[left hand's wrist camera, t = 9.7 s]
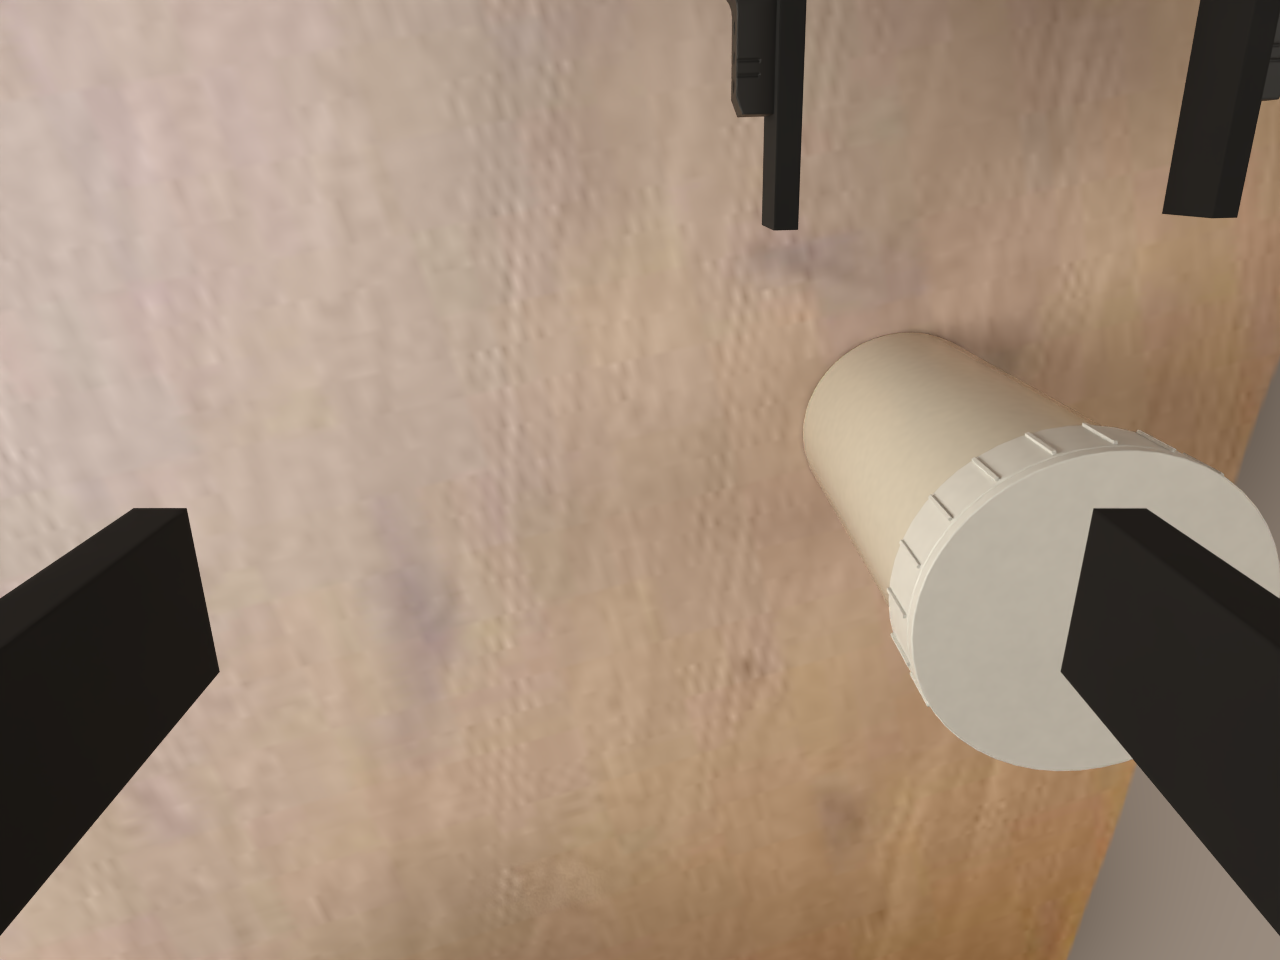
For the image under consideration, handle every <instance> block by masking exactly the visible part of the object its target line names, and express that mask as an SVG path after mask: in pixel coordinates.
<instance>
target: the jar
mask: <svg viewBox="0 0 1280 960" xmlns="http://www.w3.org/2000/svg"><path fill="white" fill-rule="evenodd" d="M1082 423H1088V424H1090V425H1097V426H1101V425H1099V424H1098V423H1096V422H1094V421H1092V420H1090V419H1089V418H1087V417H1085V416H1083V415H1082V414H1080V413H1078V412H1076V411H1074V410H1073V409H1071V408H1069V407H1067V406H1065V405H1064V404H1062V403H1060V402H1058V401H1056V400H1055V399H1053V398H1051V397H1049V396H1047V395H1046V394H1044V393H1042V392H1040V391H1038V390H1037V389H1035V388H1033V387H1031V386H1029V385H1028V384H1026V383H1024V382H1022V381H1020V380H1019V379H1017V378H1015V377H1013V376H1011V375H1010V374H1008V373H1006V372H1004V371H1003V370H1001V369H999V368H997V367H995V366H994V365H992V364H990V363H988V362H986V361H985V360H983V359H981V358H979V357H977V356H976V355H974V354H972V353H970V352H968V351H967V350H965V349H963V348H961V347H959V346H958V345H956V344H954V343H952V342H950V341H948V340H946V339H943V338H940V337H938V336H934V335H929V334H924V333H914V332H910V333H896V334H890V335H885V336H882V337H878V338H875V339H872V340H870V341H868V342H865V343H863V344H861V345H859V346H858V347H856V348H854V349H852V350H851V351H849V352H848V353H847V354H845V355H844V356H843V357H841V358H840V359H839V360H838V361H837V362H836V363H835V364H834V365H833V366H832V367H831V368H830V369H829V370H828V371H827V372H826V374H825V375H824V376H823V377H822V379H821V380H820V382H819V383H818V385H817V387H816V388H815V390H814V392H813V394H812V396H811V399H810V401H809V404H808V407H807V410H806V413H805V419H804V425H803V442H804V450H805V454H806V458H807V462H808V464H809V467H810V469H811V471H812V473H813V475H814V477H815V478H816V480H817V482H818V484H819V485H820V487H821V489H822V491H823V492H824V494H825V496H826V498H827V499H828V501H829V503H830V505H831V506H832V508H833V510H834V512H835V513H836V515H837V517H838V519H839V520H840V522H841V524H842V526H843V528H844V529H845V531H846V533H847V535H848V536H849V538H850V540H851V542H852V543H853V545H854V547H855V549H856V550H857V552H858V554H859V556H860V557H861V559H862V561H863V563H864V564H865V566H866V568H867V570H868V571H869V573H870V575H871V577H872V578H873V580H874V582H875V584H876V585H877V587H878V589H879V591H880V592H881V594H882V596H883V598H884V599H885V601H886V603H887V605H888V606H889V594H888V592H887V588H890V579H891V574H892V570H893V565H894V561H895V558H896V555H897V552H898V550H899V547H900V544H899V542H900V540H902V539H903V538H904V536H905V534H906V532H907V530H908V528H909V526H910V524H911V522H912V521H913V519H914V518H915V516H916V515H917V514H918V512H919V511H920V509H921V508H922V506H923V505H924V504H925V502H926V501H927V500H928V499H929V498H928V497H929V495H930V494H931V495H933V493H934V492H935V491H936V490H937V489H938V488H939V487H940V486H941V485H942V484H943V483H944V482H945V481H946V480H948V479H949V478H950V477H951V476H952V475H953V474H954V473H955V472H957V471H958V470H959V469H961V468H962V467H963V466H965V465H966V464H968V463H969V462H971V461H972V460H971V459H972V458H974V457H978V456H980V455H981V454H983V453H985V452H987V451H989V450H991V449H992V448H994V447H996V446H998V445H1000V444H1003V443H1005V442H1008V441H1010V440H1013V439H1015V438H1018V437H1020V436H1023V435H1025V433H1027V432H1030V433H1034V432H1038V431H1041V430H1045V429H1051V428H1058V427H1064V426H1079V425H1082Z"/></svg>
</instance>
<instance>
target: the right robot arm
mask: <svg viewBox="0 0 1280 960" xmlns="http://www.w3.org/2000/svg"><path fill="white" fill-rule="evenodd" d="M727 2H728V3H729V5H730V8H731V12H732V82H731V101H732V104H733V106H734V109H735V112H736V115H737V117H761V116H764V156H763V200H762V225H763V226H766V227H768V228H770V229H772V230H798V215H799V188H800V161H801V133H802V106H803V79H804V52H805V24H806V0H727ZM1279 97H1280V0H1200V5H1199V11H1198V17H1197V22H1196V28H1195V33H1194V39H1193V44H1192V50H1191V56H1190V61H1189V67H1188V72H1187V78H1186V83H1185V89H1184V95H1183V100H1182V106H1181V111H1180V117H1179V123H1178V128H1177V134H1176V139H1175V145H1174V150H1173V156H1172V162H1171V167H1170V173H1169V178H1168V184H1167V190H1166V195H1165V201H1164V206H1163V212H1162V214H1171V215H1182V216H1194V217H1205V218H1237V215H1238V211H1239V206H1240V201H1241V196H1242V191H1243V187H1244V182H1245V177H1246V172H1247V167H1248V163H1249V158H1250V153H1251V148H1252V144H1253V139H1254V134H1255V129H1256V124H1257V120H1258V115H1259V110H1260V105H1261V101H1267V100H1276V99H1279Z"/></svg>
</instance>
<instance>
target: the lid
mask: <svg viewBox="0 0 1280 960" xmlns="http://www.w3.org/2000/svg"><path fill="white" fill-rule="evenodd" d="M971 460H972V461H971V462H969V463H968V464H966V465H965V466H963V467H962V468H961V469H959V470H958V471H957V472H955V473H954V474H953V475H952V476H951V477H950V478H949V479H948V480H946V481H945V482H944V483H943V484H942V485H941V486H940V487H939V488H938V489H937V490H936V491H935V492H934V493H933V495H931V494H930V495H929V497H928V498H929V499H928V500H927V501H926V502H925V504H924V505H923V506H922V508H921V509H920V511H919V512H918V514H917V515H916V516H915V518H914V519H913V521H912V522H911V524H910V526H909V528H908V530H907V532H906V534H905V536H904V538H903V539H902V540H900V542H899V544H900V547H899V550H898V552H897V555H896V558H895V561H894V565H893V570H892V574H891V579H890V588H887V592H888V594H889V612H890V621H891V625H892V630H893V633H891V637H892V639H893V641H894V642H895V644H896V646H897V648H898V650H899V652H900V654H901V655H902V657H903V659H904V661H905V663H906V665H907V666H908V668H909V669H910V671H911V672H910V675H911V677H912V679H913V681H914V683H915V684H916V686H917V688H918V690H919V692H920V694H921V696H922V698H923V699H924V701H925V703H926V705H927V706H928V707H929V706H930V707H931V709H932V710H933V712H934V713H935V714H936V715H937V717H938V718H939V719H940V720H941V721H942V723H943V724H944V725H945V726H946V727H947V728H948V729H949V730H950V731H951V732H953V733H954V734H955V735H956V736H957V737H958V738H959V739H961V740H962V741H964V742H965V743H967V744H968V745H970V746H971V747H973V748H974V749H976V750H978V751H980V752H982V753H984V754H986V755H988V756H990V757H992V758H995V759H997V760H1000V761H1003V762H1007V763H1010V764H1013V765H1016V766H1021V767H1026V768H1032V769H1038V770H1051V771H1075V770H1086V769H1093V768H1101V767H1105V766H1110V765H1114V764H1118V763H1122V762H1126V761H1129V760H1132V757H1131V756H1130V755H1129V754H1128V752H1127V751H1126V750H1125V749H1124V748H1123V746H1122V745H1121V744H1120V743H1119V742H1118V740H1117V739H1116V738H1115V737H1114V736H1113V734H1112V733H1111V732H1110V731H1109V730H1108V728H1107V727H1106V726H1105V725H1104V724H1103V722H1102V721H1101V720H1100V719H1099V718H1098V716H1097V715H1096V714H1095V713H1094V712H1093V710H1092V709H1091V708H1090V707H1089V706H1088V704H1087V703H1086V702H1085V701H1084V700H1083V698H1082V697H1081V696H1080V695H1079V694H1078V692H1077V691H1076V690H1075V689H1074V688H1073V686H1072V685H1071V684H1070V683H1069V681H1068V680H1067V679H1066V678H1065V677H1064V675H1063V674H1062V673H1061V672H1060V671H1061V666H1062V662H1063V657H1064V652H1065V647H1066V642H1067V637H1068V632H1069V627H1070V622H1071V617H1072V612H1073V607H1074V602H1075V597H1076V592H1077V587H1078V582H1079V577H1080V572H1081V567H1082V562H1083V557H1084V552H1085V548H1086V543H1087V538H1088V533H1089V528H1090V523H1091V518H1092V513H1093V508H1147V509H1148V510H1150V511H1151V512H1153V513H1154V514H1156V515H1157V516H1159V517H1160V518H1161V519H1163V520H1164V521H1166V522H1167V523H1169V524H1170V525H1172V526H1173V527H1175V528H1176V529H1178V530H1179V531H1181V532H1182V533H1184V534H1185V535H1187V536H1188V537H1190V538H1191V539H1193V540H1194V541H1195V542H1197V543H1198V544H1200V545H1201V546H1203V547H1204V548H1206V549H1207V550H1209V551H1210V552H1212V553H1213V554H1215V555H1216V556H1218V557H1219V558H1221V559H1222V560H1224V561H1225V562H1227V563H1228V564H1229V565H1231V566H1232V567H1234V568H1235V569H1237V570H1238V571H1240V572H1241V573H1243V574H1244V575H1246V576H1247V577H1249V578H1250V579H1252V580H1253V581H1255V582H1256V583H1258V584H1259V585H1261V586H1262V587H1263V588H1265V589H1266V590H1268V591H1269V592H1271V593H1272V594H1274V595H1275V596H1277V597H1278V598H1279V597H1280V564H1279V559H1278V554H1277V550H1276V545H1275V542H1274V540H1273V537H1272V535H1271V532H1270V530H1269V527H1268V525H1267V523H1266V522H1265V520H1264V518H1263V517H1262V515H1261V513H1260V512H1259V510H1258V509H1257V507H1256V506H1255V505H1254V504H1253V502H1252V501H1251V500H1250V499H1249V498H1248V497H1247V496H1246V494H1245V493H1244V492H1243V491H1242V490H1241V489H1239V488H1238V487H1237V486H1236V485H1234V484H1233V483H1232V482H1231V481H1230V480H1228V479H1227V478H1226V477H1224V474H1223V473H1222V472H1220V471H1218V470H1216V469H1214V468H1212V467H1210V466H1208V465H1207V464H1205V463H1203V462H1201V461H1199V460H1197V459H1195V458H1193V457H1191V456H1189V455H1187V454H1185V453H1183V454H1182V453H1180V452H1178V451H1176V449H1175V448H1173V447H1171V446H1169V445H1168V444H1166V443H1164V442H1162V441H1160V440H1158V439H1156V438H1154V437H1152V436H1150V435H1148V434H1147V433H1145V432H1143V431H1141V430H1137V432H1133V431H1129V430H1125V429H1120V428H1116V427H1107V426H1097V425H1090V424H1088V423H1082V425H1079V426H1064V427H1058V428H1051V429H1045V430H1041V431H1038V432H1034V433H1030V432H1027V433H1025V435H1023V436H1020V437H1018V438H1015V439H1013V440H1010V441H1008V442H1005V443H1003V444H1000V445H998V446H996V447H994V448H992V449H991V450H989V451H987V452H985V453H983V454H981V455H980V456H978V457H974V458H972V459H971Z"/></svg>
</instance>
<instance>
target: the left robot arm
mask: <svg viewBox="0 0 1280 960" xmlns="http://www.w3.org/2000/svg"><path fill="white" fill-rule="evenodd" d="M219 672H220V671H219V666H218V662H217V657H216V652H215V647H214V642H213V637H212V632H211V627H210V622H209V617H208V612H207V607H206V602H205V597H204V592H203V587H202V582H201V577H200V572H199V567H198V562H197V557H196V552H195V548H194V543H193V538H192V533H191V528H190V523H189V518H188V513H187V508H133V509H132V510H130V511H129V512H127V513H126V514H124V515H123V516H121V517H120V518H119V519H117V520H116V521H114V522H113V523H111V524H110V525H108V526H107V527H105V528H104V529H102V530H101V531H99V532H98V533H96V534H95V535H93V536H92V537H90V538H89V539H87V540H86V541H85V542H83V543H82V544H80V545H79V546H77V547H76V548H74V549H73V550H71V551H70V552H68V553H67V554H65V555H64V556H62V557H61V558H59V559H58V560H56V561H55V562H53V563H52V564H51V565H49V566H48V567H46V568H45V569H43V570H42V571H40V572H39V573H37V574H36V575H34V576H33V577H31V578H30V579H28V580H27V581H25V582H24V583H22V584H21V585H19V586H18V587H17V588H15V589H14V590H12V591H11V592H9V593H8V594H6V595H5V596H3V597H2V598H0V935H1V934H2V933H3V932H4V931H5V929H6V928H7V927H8V926H9V925H10V923H11V922H12V921H13V920H14V919H15V917H16V916H17V915H18V914H19V913H20V911H21V910H22V909H23V908H24V907H25V905H26V904H27V903H28V902H29V901H30V899H31V898H32V897H33V896H34V894H35V893H36V892H37V891H38V890H39V888H40V887H41V886H42V885H43V884H44V882H45V881H46V880H47V879H48V878H49V876H50V875H51V874H52V873H53V872H54V870H55V869H56V868H57V867H58V866H59V864H60V863H61V862H62V861H63V860H64V858H65V857H66V856H67V855H68V854H69V852H70V851H71V850H72V849H73V848H74V846H75V845H76V844H77V843H78V842H79V840H80V839H81V838H82V837H83V836H84V834H85V833H86V832H87V831H88V830H89V828H90V827H91V826H92V825H93V823H94V822H95V821H96V820H97V819H98V817H99V816H100V815H101V814H102V813H103V811H104V810H105V809H106V808H107V807H108V805H109V804H110V803H111V802H112V801H113V799H114V798H115V797H116V796H117V795H118V793H119V792H120V791H121V790H122V789H123V787H124V786H125V785H126V784H127V783H128V781H129V780H130V779H131V778H132V777H133V775H134V774H135V773H136V772H137V771H138V769H139V768H140V767H141V766H142V765H143V763H144V762H145V761H146V760H147V759H148V757H149V756H150V755H151V754H152V752H153V751H154V750H155V749H156V748H157V746H158V745H159V744H160V743H161V742H162V740H163V739H164V738H165V737H166V736H167V734H168V733H169V732H170V731H171V730H172V728H173V727H174V726H175V725H176V724H177V722H178V721H179V720H180V719H181V718H182V716H183V715H184V714H185V713H186V712H187V710H188V709H189V708H190V707H191V706H192V704H193V703H194V702H195V701H196V700H197V698H198V697H199V696H200V695H201V694H202V692H203V691H204V690H205V689H206V688H207V686H208V685H209V684H210V683H211V681H212V680H213V679H214V678H215V677H216V675H217V674H218V673H219ZM1060 672H1061V673H1062V674H1063V675H1064V677H1065V678H1066V679H1067V680H1068V681H1069V683H1070V684H1071V685H1072V686H1073V688H1074V689H1075V690H1076V691H1077V692H1078V694H1079V695H1080V696H1081V697H1082V698H1083V700H1084V701H1085V702H1086V703H1087V704H1088V706H1089V707H1090V708H1091V709H1092V710H1093V712H1094V713H1095V714H1096V715H1097V716H1098V718H1099V719H1100V720H1101V721H1102V722H1103V724H1104V725H1105V726H1106V727H1107V728H1108V730H1109V731H1110V732H1111V733H1112V734H1113V736H1114V737H1115V738H1116V739H1117V740H1118V742H1119V743H1120V744H1121V745H1122V746H1123V748H1124V749H1125V750H1126V751H1127V752H1128V754H1129V755H1130V756H1131V757H1132V759H1133V760H1134V761H1135V762H1136V763H1137V765H1138V766H1139V767H1140V768H1141V769H1142V771H1143V772H1144V773H1145V774H1146V775H1147V776H1148V778H1149V779H1150V780H1151V781H1152V783H1153V784H1154V785H1155V786H1156V787H1157V789H1158V790H1159V791H1160V792H1161V793H1162V795H1163V796H1164V797H1165V798H1166V799H1167V801H1168V802H1169V803H1170V804H1171V805H1172V807H1173V808H1174V809H1175V810H1176V811H1177V813H1178V814H1179V815H1180V816H1181V817H1182V819H1183V820H1184V821H1185V822H1186V823H1187V825H1188V826H1189V827H1190V828H1191V830H1192V831H1193V832H1194V833H1195V834H1196V836H1197V837H1198V838H1199V839H1200V840H1201V842H1202V843H1203V844H1204V845H1205V846H1206V848H1207V849H1208V850H1209V851H1210V852H1211V854H1212V855H1213V856H1214V857H1215V858H1216V860H1217V861H1218V862H1219V863H1220V864H1221V866H1222V867H1223V868H1224V869H1225V870H1226V872H1227V873H1228V874H1229V875H1230V876H1231V878H1232V879H1233V880H1234V881H1235V882H1236V884H1237V885H1238V886H1239V887H1240V888H1241V890H1242V891H1243V892H1244V893H1245V894H1246V896H1247V897H1248V898H1249V899H1250V900H1251V902H1252V903H1253V904H1254V905H1255V907H1256V908H1257V909H1258V910H1259V911H1260V913H1261V914H1262V915H1263V916H1264V917H1265V918H1266V920H1267V921H1268V922H1269V923H1270V925H1271V926H1272V927H1273V928H1274V929H1275V931H1276V932H1277V933H1278V934H1279V935H1280V598H1278V597H1277V596H1275V595H1274V594H1272V593H1271V592H1269V591H1268V590H1266V589H1265V588H1263V587H1262V586H1261V585H1259V584H1258V583H1256V582H1255V581H1253V580H1252V579H1250V578H1249V577H1247V576H1246V575H1244V574H1243V573H1241V572H1240V571H1238V570H1237V569H1235V568H1234V567H1232V566H1231V565H1229V564H1228V563H1227V562H1225V561H1224V560H1222V559H1221V558H1219V557H1218V556H1216V555H1215V554H1213V553H1212V552H1210V551H1209V550H1207V549H1206V548H1204V547H1203V546H1201V545H1200V544H1198V543H1197V542H1195V541H1194V540H1193V539H1191V538H1190V537H1188V536H1187V535H1185V534H1184V533H1182V532H1181V531H1179V530H1178V529H1176V528H1175V527H1173V526H1172V525H1170V524H1169V523H1167V522H1166V521H1164V520H1163V519H1161V518H1160V517H1159V516H1157V515H1156V514H1154V513H1153V512H1151V511H1150V510H1148V509H1147V508H1093V513H1092V518H1091V523H1090V528H1089V533H1088V538H1087V543H1086V548H1085V552H1084V557H1083V562H1082V567H1081V572H1080V577H1079V582H1078V587H1077V592H1076V597H1075V602H1074V607H1073V612H1072V617H1071V622H1070V627H1069V632H1068V637H1067V642H1066V647H1065V652H1064V657H1063V662H1062V666H1061V671H1060Z"/></svg>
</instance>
